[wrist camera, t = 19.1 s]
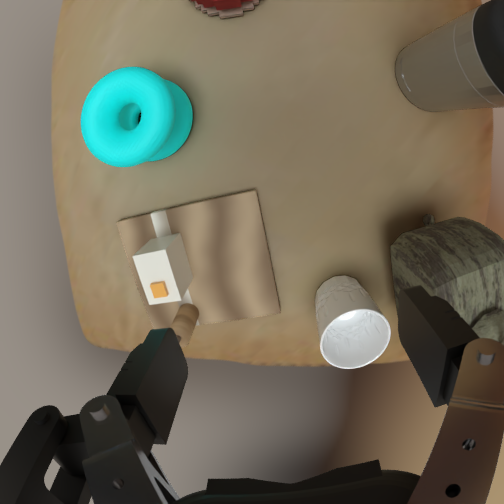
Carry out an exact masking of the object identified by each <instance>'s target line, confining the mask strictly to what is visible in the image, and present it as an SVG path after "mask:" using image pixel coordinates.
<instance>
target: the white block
mask: <svg viewBox="0 0 504 504" xmlns="http://www.w3.org/2000/svg"><path fill="white" fill-rule="evenodd" d="M132 257H133V260H134V263H135V266H136V269H137V272H138V274H139V277H140V280H141V283H142V286H143V289H144V291H145V294H146V297H147V300H148V302H149V305H153V304H160V303H168V302H175V301H182V299H183V297H184V295H185V293H186V291H187V289H188V287H189V285H190V283H191V281H192V279H193V276H192V272H191V269H190V266H189V262H188V259H187V255H186V252H185V248H184V245H183V241H182V237H181V234H180V233H178V234H173V235H168V236H164V237H159V238H154V239H151V240H149V241H148V242H147V243H146V244H145V245H144V246H143V247H142V248H141V249H140V250H139V251H137V252H136V253H135V254H134V255H133V256H132Z"/></svg>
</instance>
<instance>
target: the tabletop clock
mask: <svg viewBox="0 0 504 504" xmlns="http://www.w3.org/2000/svg"><path fill="white" fill-rule="evenodd" d="M434 221H435V219H434V217H433V216H432V215H430V214H427V215H425V216H424V218H423V222H424V225H426V227H422V228H419V229H415V230H412V231H408V232H405V233H402V234H401V235H400V236H399V237H398V238H397V240H396V241H395V242H394V243H393V244H392V245H391V263H392V272H393V282H394V291H395V299H396V308H397V315H398V314H399V291H400V290H401V289H405V288H409V287H414V286H418V285H421V286H422V287H423V288H424V289H425V290H426V291H427V292H428V294H429V295H430V296H431V297H432V296H438V297H440V298H442V299H444V300H446V301H448V303H449V304H450V305H451V306H452V307H453V308H454V309H455V311H457V312H458V313H459V315H460V317H462V318H463V319H464V320H465V321H466V322H467V323H468V325H469V326H470V327H471V328H472V329H473V330H474V331H475V333H476V334H477V335H478V336H479V337H480V338H490V339H494V340H496V341H498V342H500V343H502V344H503V345H504V240H503V239H502V238H501V237H500V236H499V235H497V234H496V233H494V232H493V231H491V230H490V229H488V228H487V227H485V226H484V225H482V224H481V223H478V222H475V221H473V220H470V219H467V218H464V217H456V218H453V219H449V220H446V221H443V222H439V223H436V224H434Z"/></svg>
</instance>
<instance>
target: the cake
mask: <svg viewBox="0 0 504 504" xmlns="http://www.w3.org/2000/svg"><path fill="white" fill-rule="evenodd" d="M189 1H190V2H194V1H195V8H196V9H201V11H202V13H204V12H207V13H208V16H213V15H218V14H219V15H220V19H222V18H228V17H235V16H242V15H243V11H246V10H254V6H253V5H259V0H189Z"/></svg>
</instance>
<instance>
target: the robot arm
mask: <svg viewBox="0 0 504 504" xmlns="http://www.w3.org/2000/svg"><path fill="white" fill-rule="evenodd" d="M395 73H396V79H397V82H398V85H399V87H400V89H401V91H402V92H403V94H404V95H405V96H406V98H407V99H408V100H409V101H410V102H411V103H412V104H414V105H415V106H417V107H418V108H420V109H423V110H425V111H430V112H438V111H450V110H463V109H477V108H497V107H504V0H491V1H489V2H487V3H485V4H483V5H481V6H479V7H477V8H475V9H473V10H471V11H469V12H467V13H465V14H464V15H462V16H460V17H458V18H456V19H454V20H452V21H450V22H449V23H447V24H445V25H443V26H441V27H440V28H438V29H436V30H434V31H433V32H431V33H429V34H427V35H426V36H424V37H422V38H420V39H419V40H417V41H415V42H413V43H412V44H410V45H408V46H407V47H405V48H404V49H403V50H402V51H401V52H400V53H399V55H398V57H397V60H396V64H395ZM398 332H399V338H400V341H401V344H402V346H403V347H404V349H405V351H406V353H407V355H408V357H409V358H410V360H411V362H412V364H413V366H414V368H415V369H416V371H417V373H418V375H419V377H420V379H421V381H422V383H423V385H424V387H425V389H426V391H427V392H428V395H429V397H430V398H431V400H432V403H433V405H434V407H438V406H441V405H444V404H447V405H448V408H447V411H446V414H445V417H444V420H443V423H442V426H441V428H440V431H439V434H438V437H437V439H436V442H435V444H434V447H433V449H432V452H431V454H430V457H429V459H428V461H427V463H426V466H425V468H424V470H423V472H422V475H421V476H419V475H416V474H413V473H409V472H404V471H398V470H381V467H380V463H379V460H374V461H370V462H365V463H361V464H356V465H351V466H346V467H341V468H336V469H334V470H331V471H329V472H326V473H323V474H320V475H318V476H315V477H312V478H309V479H307V480H303V481H301V482H297V483H292V484H287V483H278V482H271V481H263V480H257V479H250V478H240V479H208V483H207V488H206V490H202V491H199V492H195V493H192V494H189V495H187V496H185V497H182V498H180V497H179V496H178V495H177V493H176V492H175V490H174V489H173V487H172V485H171V484H170V482H169V480H168V479H167V477H166V475H165V473H164V472H163V470H162V468H161V466H160V465H159V463H158V461H157V459H156V457H155V456H154V454H153V453H152V451H151V449H152V446H153V444H165V445H166V443H167V440H168V437H169V434H170V430H171V427H172V424H173V421H174V418H175V414H176V411H177V408H178V405H179V402H180V399H181V395H182V392H183V389H184V386H185V383H186V380H187V375H188V367H187V363H186V360H185V357H184V354H183V352H182V349H181V347H180V344H179V342H178V339H177V336H176V334H175V332H174V330H173V329H172V328H161V329H152V330H150V332H149V334H148V335H147V337H146V339H145V341H144V342H143V344H139V345H138V346H137V347H136V348H135V349H134V350H133V351H132V352H131V353H130V354H129V356H128V358H127V360H126V363H124V365H123V367H122V368H121V371H120V372H119V374H118V375H117V377H116V379H115V380H114V382H113V384H112V386H111V387H110V389H109V391H108V393H107V395H102V396H98V397H95V398H93V399H91V400H90V401H88V402H87V403H86V404H85V405H84V406H83V407H82V409H81V411H80V414H76V415H70V416H65V417H63V415H62V414H61V413H60V411H59V410H58V408H57V407H55V406H50V405H48V406H43V407H41V408H39V409H37V410H36V411H34V412H33V413H32V414H31V416H30V417H29V419H28V420H27V422H26V423H25V425H24V427H23V428H22V430H21V431H20V433H19V435H18V436H17V438H16V439H15V441H14V443H13V445H12V446H11V448H10V450H9V451H8V453H7V455H6V456H5V458H4V460H3V462H2V463H1V465H0V504H89V502H90V498H91V496H92V499H93V502H94V504H485V503H486V500H487V497H488V494H489V490H490V487H491V484H492V480H493V477H494V473H495V470H496V466H497V462H498V457H499V453H500V449H501V444H502V439H503V433H504V345H503V344H502V343H500V342H498V341H496V340H494V339H490V338H480V337H479V336H478V335H477V334H476V333H475V331H474V330H473V329H472V328H471V327H470V326H469V325H468V323H467V322H466V321H465V320H464V319H463V318H462V317H460V315H459V313H458V312H457V311H455V309H454V308H453V307H452V306H451V305H450V304H449V303H448V301H446V300H444V299H442V298H440V297H438V296H432V297H431V296H430V295H429V294H428V292H427V291H426V290H425V289H424V288H423V287H422V286H421V285H418V286H414V287H409V288H405V289H401V290H400V291H399V314H398ZM52 459H54V460H55V461H56V462H57V463H58V464H59V465H60V466H61V467H60V469H59V471H58V473H57V475H56V478H55V480H54V482H53V485H52V487H51V489H50V491H49V490H48V489H47V488H46V486H45V483H44V476H45V473H46V471H47V469H48V467H49V465H50V463H51V461H52Z"/></svg>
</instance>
